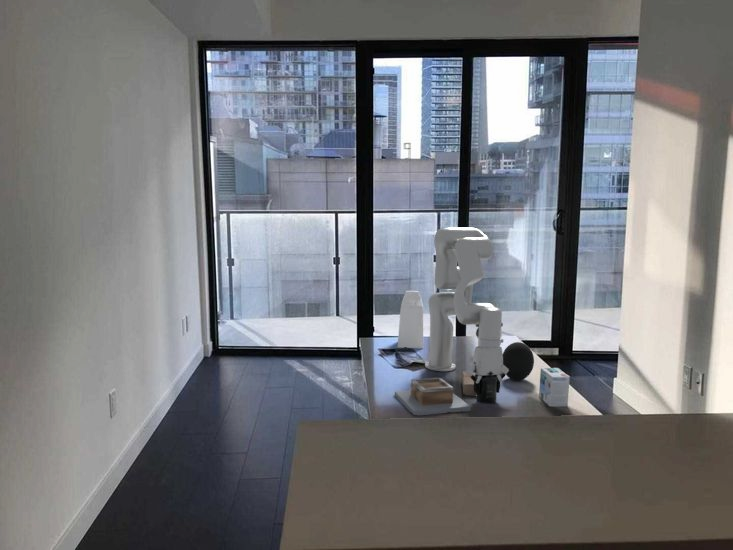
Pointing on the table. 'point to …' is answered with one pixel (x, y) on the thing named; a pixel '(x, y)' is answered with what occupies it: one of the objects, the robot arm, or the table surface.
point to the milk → (411, 321)
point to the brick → (468, 384)
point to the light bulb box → (554, 387)
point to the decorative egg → (518, 360)
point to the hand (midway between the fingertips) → (486, 391)
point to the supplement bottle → (488, 388)
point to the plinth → (431, 391)
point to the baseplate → (420, 409)
